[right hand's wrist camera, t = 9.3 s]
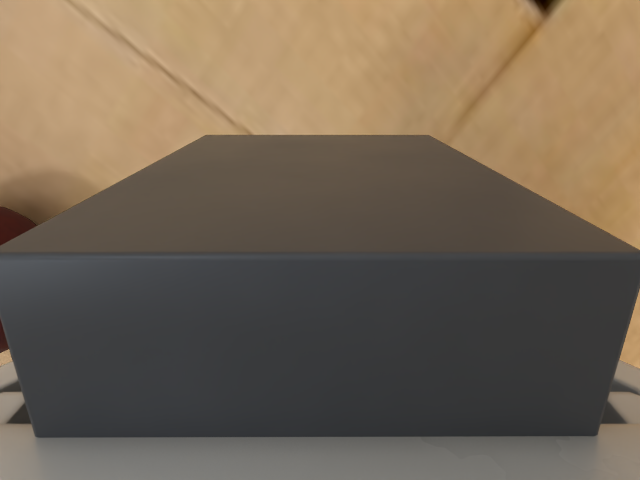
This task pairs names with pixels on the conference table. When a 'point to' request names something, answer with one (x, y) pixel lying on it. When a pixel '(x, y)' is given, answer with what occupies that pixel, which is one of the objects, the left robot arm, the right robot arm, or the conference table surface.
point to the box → (316, 298)
